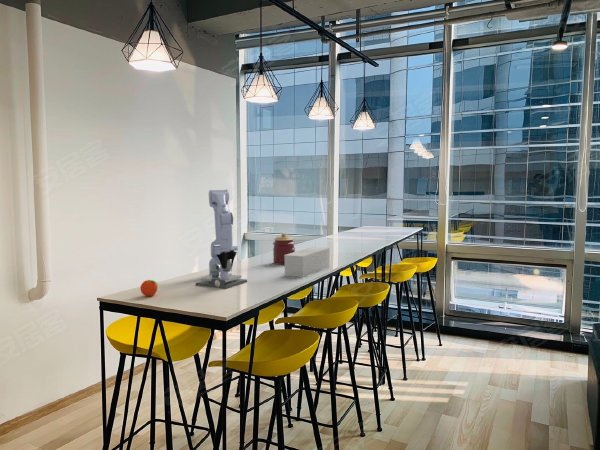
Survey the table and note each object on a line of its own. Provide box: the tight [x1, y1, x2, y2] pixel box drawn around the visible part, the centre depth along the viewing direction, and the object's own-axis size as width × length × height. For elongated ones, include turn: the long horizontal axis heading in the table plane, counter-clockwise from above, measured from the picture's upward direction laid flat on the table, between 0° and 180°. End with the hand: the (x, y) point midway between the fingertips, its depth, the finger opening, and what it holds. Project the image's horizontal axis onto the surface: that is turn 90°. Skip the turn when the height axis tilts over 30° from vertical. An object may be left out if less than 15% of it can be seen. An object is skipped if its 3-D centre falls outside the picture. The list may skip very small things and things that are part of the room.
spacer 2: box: [223, 259, 233, 273], centre depth 223 cm, size 4×4×6 cm
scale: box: [195, 278, 248, 290], centre depth 225 cm, size 18×16×4 cm
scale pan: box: [201, 274, 242, 283], centre depth 225 cm, size 14×12×2 cm
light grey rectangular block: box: [284, 246, 330, 278], centre depth 254 cm, size 32×11×11 cm, turn 152°
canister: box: [272, 232, 296, 265], centre depth 280 cm, size 13×13×18 cm
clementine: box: [139, 279, 159, 297], centre depth 202 cm, size 8×7×7 cm
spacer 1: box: [212, 264, 220, 277], centre depth 226 cm, size 4×4×6 cm
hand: (227, 267), depth 223 cm, fingers closed on spacer 2, 4 cm apart
